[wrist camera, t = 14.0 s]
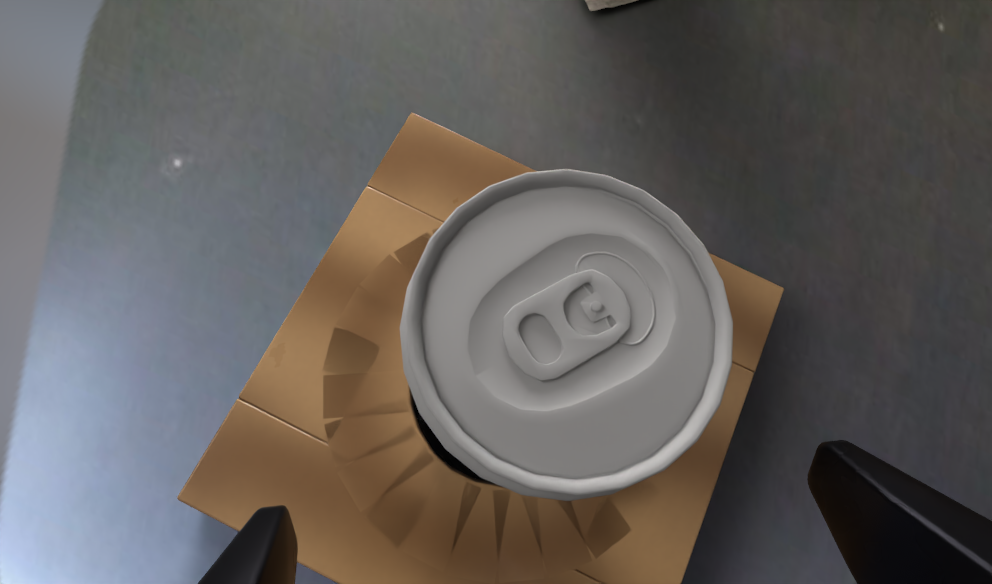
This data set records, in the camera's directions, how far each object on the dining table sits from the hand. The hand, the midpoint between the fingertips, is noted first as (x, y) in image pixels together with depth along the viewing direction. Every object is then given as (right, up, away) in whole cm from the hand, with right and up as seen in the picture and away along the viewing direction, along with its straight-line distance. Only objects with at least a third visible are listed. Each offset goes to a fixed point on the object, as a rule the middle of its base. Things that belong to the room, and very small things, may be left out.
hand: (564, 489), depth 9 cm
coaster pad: (-1, 0, +10) cm, 10 cm away
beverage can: (-1, 0, +10) cm, 10 cm away
